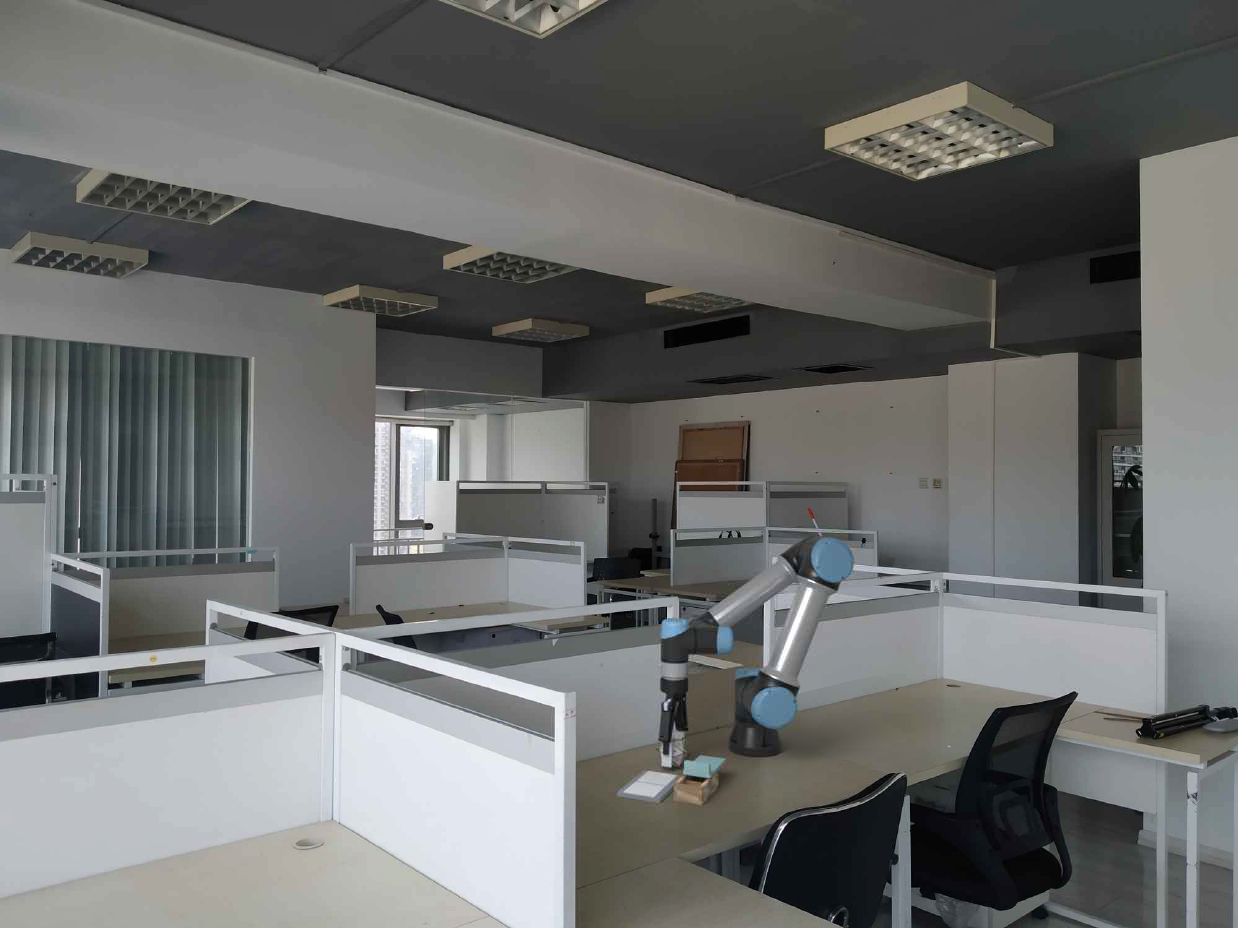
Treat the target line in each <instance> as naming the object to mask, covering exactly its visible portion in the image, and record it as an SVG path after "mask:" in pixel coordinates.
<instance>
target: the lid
mask: <svg viewBox="0 0 1238 928" xmlns="http://www.w3.org/2000/svg"><path fill="white" fill-rule="evenodd" d="M726 762H727V758H723V757H715V756H708V755H702V754H701V755H698V757H696V758H695V759H694V760H690V759H688V760H687V759H685V760H684V761H683V770H682V775H691V776H698V777H705V778H711V777H712V776H713V775H714V774H715V773H716V772H717V771H719V770H720V769H721V767H723V766H724V765H725V764H726Z"/></svg>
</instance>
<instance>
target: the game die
mask: <svg viewBox="0 0 1238 928" xmlns="http://www.w3.org/2000/svg"><path fill="white" fill-rule="evenodd" d="M683 739H684V737H683V738H682V739H676V738H674V737H672V738H671V742H673V744H672V767H678V768H679V769H680V770H682V764H684V761H685V760H686V758H687V756H690V755H692V754H691V753H688V751H687V748H686V744H685V745H684V742H683ZM655 751H658V753H659V756H660V758H661V759H662V744H661V745H660V746H659V748H655ZM661 768H665V766H662V765H661Z"/></svg>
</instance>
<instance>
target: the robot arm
mask: <svg viewBox="0 0 1238 928" xmlns="http://www.w3.org/2000/svg"><path fill="white" fill-rule="evenodd" d="M854 566H855V558H854V554H853V552H852V550H851V548H850V547H849V546H848V545H847V544H846V543H845V542H844V541H842V540H840V539H838V538H836V537H835V538H834V537H831V536H822V535H817V534H815V535H809V536H806V537H803V538H802V539H801V540H798V541H797V542H796V543H794V544H793V545H792V546H790V547H789V548H787V549H786V550H785V551H784V552H782V553H780V555H778V556H777V559H776V562H774V563H773V564H771V565H770V566H769V567H768V568H766V569H764V570H763V571H761V572H759V574H758V575H756V576H755V577H753V578H751V579H750V580H749V581H747V582H745V584H744V585H742V586H740V587H739V588H738V589H736V590H735V591H733V592H732V593H730V594H729V595H728V596H727V597H725V598H723V599H722V600H721V601H719V602H717V604H715V605H714V606H712V607H711V608H710V609H708V610H707V611H705V612H703V614H701V615H699V616H694V617H691V618H689V619H685V618H680V617H679V618H677V617H673V618H672V617H669V618H666V619H663V620H662V621H661V628H660V662H659V664H658V666H659V668H660V676H661V677H660V679H659V682H660V683H659V688H660V689H659V690H660V692H661V693H663V694H665V695H666V696H665V699H664V701H662V702H661V703H660V705H661V706H660V707H661V708H660V709H661V712H660V721H659V733H658V734H659V735H658V739H657V741H658V742H661V745H662V758H661V767H662V766H664V768H665V767H666V768H672V767H673V766H672V744H673V742H671V738H676V739H682V738H683V737H684V739H683V742H684V745H685V746H686V744H685V741H686V739H685V738H686V737H685V736H686V733H685V732H688V731H689V723H688V722H689V721H688V711H687V710H688V709H687V693H688V691H689V678H688V676H689V672H690V671H689V667H690V666H689V665H690V664H689V661H690V660H689V656H692V655H693V656H694V655H696V656H697V655H698V656H699V655H700V656H701V655H711V656H712V655H715V656H716V655H718V656H721V655H728V654H729V655H730V653H732V651H733V649H734V633H733V630H732V628H731V627H733V626H734V625H735V624H737V623H739V622H740V621H741V620H743V619H744V618H746V617H747V616H749V615H750V614H751V613H753V612H754V611H755V610H757V609H758V608H760V607H761V606H762V605H764V604H765V603H767V602H769V600H772V599H773V598H774V597H776V595H778V594H780V593H781V592H782V591H784V590H785V589H786V588H788V587H789V586H791V585H792V584H797V585H798V587H797V590H796V593H795V595H794V597H793V600H792V603H791V605H790V608H789V611H788V612H787V616H786V617H785V621H784V623H783V625H782V628H781V630H780V632H779V636H778V637H777V640H776V644H775V645H774V648H773V650H772V653H771V656H770V658H769V661H768V663H767V665H765V666H762V667H744V668H743V667H742V668H738V669H737V670H736V671H735V675H734V676H735V677H734V679H733V680H734V681H733V682H734V720H733V721H734V722H733V724H732V727H731V729H730V733H729V736H728V739H727V748H728V750H729V751H731V752H732V753H735V754H738V755H742V756H747V757H771V756H776V755H778V754H780V753H781V751H782V741H781V737H780V734H779V729H782V728H785V727H787V726H788V725H790V724H791V723H792V722H793V721H794V720H795V718H796V715H797V714H798V701H797V696H798V693H799V691H800V689H801V685H800V681H799V680H798V678H799V674H800V672H801V669H802V667H803V665H804V662H805V659H806V656H807V654H808V652H809V649H810V646H811V644H812V641H813V639H814V637H815V633H816V631H817V628H818V626H819V623H820V621H821V618H822V615H823V614H824V610H825V608H826V605H827V603H828V600H829V598H830V597H831V596H832V595H834V594H837V593H838V591H839V588H840V586H841V583H842V582H844V581H845V580H846V579H848V578H849V576H850V575H851V574H852V572H853V570H854ZM674 726H675V730H674ZM673 730H674V731H673ZM673 732H674V737H673Z"/></svg>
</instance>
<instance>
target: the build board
mask: <svg viewBox="0 0 1238 928" xmlns="http://www.w3.org/2000/svg"><path fill="white" fill-rule="evenodd" d="M682 776H683V775H678V774H672V773H665V772H659V771H651V770H645V769H644V770H642V771H641V772H640V773H639V774H637V775H636V776H635V777H634V778H633V779H631V780H630V781H629V782H627V784H625V785H624V786H623V787H622V788H620V789H619V790H618V791H617V792H616V797H618V798H625V799H626V798H627V799H632V800H638V801H644V802H650V803H656V804H660V803H661V802H662V801H663V800H665V799H666V798H667V796H669V795H670V794H671V793H672V792H674V783H675V782H677V781H678V780H679V779H680V778H681V777H682Z"/></svg>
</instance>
